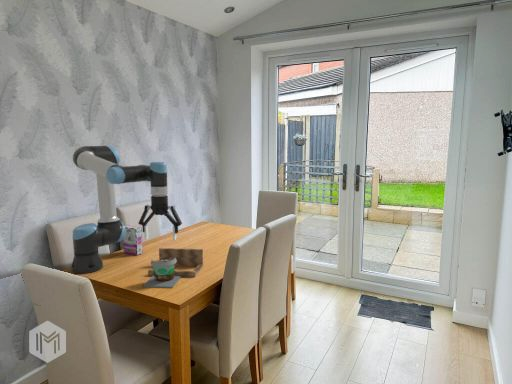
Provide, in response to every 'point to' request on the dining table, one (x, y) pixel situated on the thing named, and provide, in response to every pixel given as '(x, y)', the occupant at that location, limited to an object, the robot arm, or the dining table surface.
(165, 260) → the food container
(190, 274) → the wooden frame
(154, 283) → the mat
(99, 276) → the dining table surface
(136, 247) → the candy bar box
